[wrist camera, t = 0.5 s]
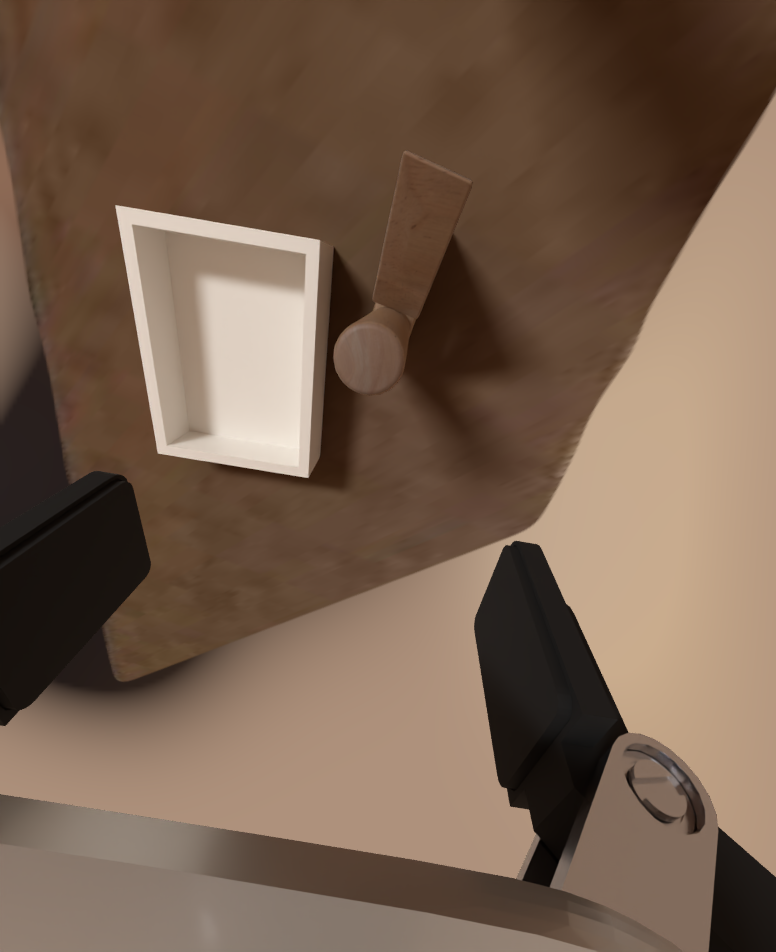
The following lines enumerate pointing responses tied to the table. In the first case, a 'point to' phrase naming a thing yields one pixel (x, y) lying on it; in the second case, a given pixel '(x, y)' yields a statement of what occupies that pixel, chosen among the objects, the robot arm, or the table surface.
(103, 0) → the table surface
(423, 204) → the brown rod with wedge
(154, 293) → the tray
